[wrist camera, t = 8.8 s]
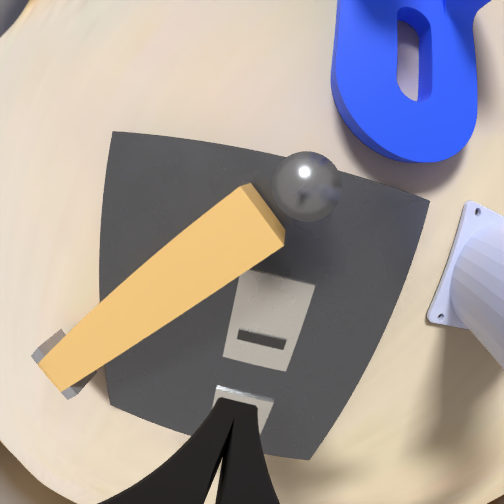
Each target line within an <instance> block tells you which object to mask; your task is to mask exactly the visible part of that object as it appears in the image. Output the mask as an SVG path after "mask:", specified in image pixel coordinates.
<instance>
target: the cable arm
mask: <svg viewBox="0 0 504 504" xmlns="http://www.w3.org/2000/svg"><path fill="white" fill-rule="evenodd" d="M284 240H285V229H284V227H283V226H282V224H281V223H280V222H279V220H278V219H277V218H276V216H275V215H274V213H273V212H272V211H271V209H270V208H269V207H268V205H267V204H266V203H265V201H264V200H263V199H262V197H261V196H260V195H259V193H258V192H257V190H256V189H255V188H254V186H253V185H252V184H251V183H249V184H246V185H242V186H240V187H238V188H237V189H236V190H234V191H233V192H232V193H230V194H229V195H228V196H227V197H225V198H224V199H223V200H221V201H220V202H219V203H217V204H216V205H215V206H214V207H212V208H211V209H210V210H209V211H207V212H206V213H205V214H203V215H202V216H201V217H200V218H198V219H197V220H196V221H195V222H193V223H192V224H191V225H190V226H188V227H187V228H186V229H185V230H184V231H182V232H181V233H180V234H179V235H177V236H176V237H175V238H174V239H173V240H171V241H170V242H169V243H168V244H167V245H165V246H164V247H163V248H162V249H161V250H159V251H158V252H157V253H156V254H155V255H153V256H152V257H151V258H150V259H149V260H148V261H146V262H145V263H144V264H143V265H142V266H141V267H140V268H138V269H137V270H136V271H135V272H134V273H133V274H131V275H130V276H129V277H128V278H127V279H126V280H125V281H124V282H122V283H121V284H120V285H119V286H118V287H117V288H116V289H115V290H114V291H112V292H111V293H110V294H109V295H108V296H107V297H106V298H105V299H104V300H103V301H101V302H100V303H99V304H98V305H97V306H96V307H95V308H94V309H93V310H92V311H91V312H90V313H89V314H87V315H86V316H85V317H84V318H83V319H82V320H81V321H80V322H79V323H78V324H77V325H76V326H75V327H74V328H73V329H72V330H71V331H70V332H69V333H68V334H67V335H65V333H64V332H63V331H62V329H60V330H59V331H58V332H57V333H55V334H54V335H53V336H52V337H50V338H49V339H48V340H47V341H45V342H44V343H43V344H42V345H41V346H39V347H38V348H37V349H36V350H35V352H34V353H33V354H32V355H31V357H32V358H33V359H34V361H35V362H36V363H37V364H38V366H39V367H40V368H41V370H42V371H43V372H44V373H45V374H46V376H47V377H48V378H49V379H50V380H51V382H52V383H53V384H54V385H55V386H56V387H57V389H58V390H59V391H60V392H61V393H62V394H63V395H64V396H65V397H66V399H67V400H68V399H70V398H72V397H74V396H76V395H77V394H78V393H79V392H80V391H81V390H82V389H83V387H84V386H85V385H86V384H87V383H88V382H89V381H90V379H91V378H92V377H93V376H94V375H95V374H96V373H97V372H96V371H95V370H96V369H98V368H100V367H101V366H103V365H104V364H106V363H107V362H109V361H111V360H112V359H114V358H115V357H117V356H118V355H120V354H121V353H123V352H124V351H126V350H128V349H129V348H131V347H132V346H134V345H135V344H137V343H138V342H140V341H141V340H143V339H144V338H146V337H148V336H149V335H151V334H152V333H154V332H155V331H157V330H158V329H160V328H161V327H163V326H164V325H166V324H167V323H169V322H170V321H172V320H174V319H175V318H177V317H178V316H180V315H181V314H183V313H184V312H186V311H187V310H189V309H190V308H192V307H193V306H195V305H196V304H198V303H199V302H201V301H202V300H204V299H205V298H207V297H208V296H210V295H211V294H213V293H214V292H216V291H217V290H219V289H220V288H222V287H223V286H225V285H226V284H228V283H229V282H231V281H232V280H234V279H235V278H237V277H238V276H240V275H241V274H243V273H244V272H246V271H247V270H249V269H250V268H252V267H253V266H255V265H256V264H258V263H259V262H261V261H262V260H264V259H265V258H267V257H268V256H270V255H271V254H272V253H274V252H275V251H277V250H278V249H280V248H281V247H283V246H284Z"/></svg>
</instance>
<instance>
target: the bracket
mask: <svg viewBox="0 0 504 504" xmlns="http://www.w3.org/2000/svg"><path fill="white" fill-rule="evenodd" d="M490 1H491V0H337V14H336V27H335V38H334V49H333V58H332V68H331V89H332V95H333V98H334V102H335V104H336V107H337V109H338V111H339V113H340V115H341V117H342V119H343V120H344V122H345V123H346V125H347V126H348V128H349V129H350V130H351V131H352V132H353V134H354V135H355V136H356V137H357V138H358V139H359V140H360V141H361V142H362V143H364V144H365V145H366V146H368V147H369V148H370V149H372V150H373V151H375V152H377V153H378V154H380V155H382V156H384V157H387V158H389V159H392V160H396V161H400V162H408V163H422V162H437V161H442V160H445V159H448V158H450V157H452V156H453V155H455V154H456V153H458V152H459V151H460V150H461V149H462V148H463V147H464V146H465V145H466V144H467V142H468V141H469V139H470V137H471V135H472V133H473V131H474V127H475V124H476V118H477V70H476V57H475V47H474V38H473V30H472V26H473V20H474V17H475V15H476V13H477V11H478V10H479V9H480V8H482V7H483V6H484V5H486V4H487V3H488V2H490ZM397 20H399V21H403V22H406V23H407V24H409V25H410V26H412V27H413V28H414V30H415V31H416V32H417V34H418V37H419V86H418V100H417V102H416V101H413V100H411V99H409V98H408V97H406V96H405V95H404V94H403V93H402V91H401V90H400V88H399V86H398V84H397V79H396V75H397Z"/></svg>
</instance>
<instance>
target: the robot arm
mask: <svg viewBox="0 0 504 504" xmlns="http://www.w3.org/2000/svg"><path fill="white" fill-rule="evenodd" d="M476 209H477V210H478V211H477V214H476V215H475V210H476ZM440 314H441V316H440V317H439V318H438V316H439V315H440ZM427 318H428V320H429V321H430V322H432V323H437V324H442V325H448V326H453V327H459V328H464V329H469V330H470V331H471V332H472V333H473V334H474V335H475V337H476V338H477V339H478V340H479V341H480V342H481V343H482V344H483V346H484V347H485V348H486V349H487V350H488V351H489V353H490V354H491V355H492V356H493V357H494V359H495V360H496V361H497V362H498V363H499V365H500V366H501V367H502V368H503V370H504V216H502V215H500V214H498V213H496V212H494V211H492V210H490V209H488V208H486V207H484V206H482V205H480V204H478V203H476V202H473V201H467V202H466V203H465V205H464V208H463V212H462V216H461V220H460V223H459V227H458V230H457V234H456V237H455V240H454V244H453V247H452V250H451V253H450V256H449V259H448V262H447V265H446V267H445V270H444V273H443V276H442V278H441V281H440V283H439V286H438V289H437V291H436V293H435V296H434V298H433V301H432V303H431V305H430V308H429V310H428V312H427ZM222 457H223V459H222ZM221 460H222V465H221V471H220V477H219V484H218V490H217V496H216V503H215V504H280V503H279V500H278V498H277V496H276V493H275V491H274V488H273V485H272V482H271V479H270V476H269V473H268V470H267V466H266V462H265V458H264V454H263V450H262V445H261V440H260V433H259V425H258V408H257V406H256V405H252V404H248V403H243V402H239V401H235V400H231V399H227V398H224V397H220V398H218V399H217V401H216V403H215V405H214V407H213V408H212V410H211V412H210V413H209V415H208V416H207V417H206V419H205V420H204V422H203V423H202V424H201V425H200V427H199V428H198V429H197V430H196V431H195V433H194V434H193V435H192V436H191V437H190V438H189V440H188V441H187V442H186V443H185V444H184V445H183V446H182V447H181V448H180V449H179V450H178V451H177V452H176V453H175V454H174V455H172V456H171V457H170V458H169V459H168V460H167V461H166V462H165V463H163V464H162V465H161V466H160V467H158V468H157V469H156V470H155V471H153V472H152V473H151V474H149V475H148V476H146V477H145V478H143V479H142V480H141V481H139V482H138V483H136V484H134V485H133V486H131V487H130V488H128V489H126V490H124V491H122V492H121V493H119V494H117V495H115V496H113V497H111V498H109V499H107V500H105V501H103V502H101V503H98V504H204V501H205V499H206V496H207V494H208V492H209V489H210V487H211V484H212V482H213V479H214V477H215V475H216V472H217V470H218V467H219V465H220V462H221Z"/></svg>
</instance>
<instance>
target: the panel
mask: <svg viewBox="0 0 504 504" xmlns="http://www.w3.org/2000/svg"><path fill="white" fill-rule="evenodd" d="M249 183H251V184H252V185H253V186H254V188H255V189H256V190H257V192H258V193H259V195H260V196H261V197H262V199H263V200H264V201H265V203H266V204H267V205H268V207H269V208H270V209H271V211H272V212H273V213H274V215H275V216H276V218H277V219H278V220H279V222H280V223H281V224H282V226H283V227H284V229H285V240H284V246H283V247H281V248H280V249H278V250H277V251H275V252H274V253H272V254H271V255H270V256H268V257H267V258H265V259H264V260H262V261H261V262H259V263H258V264H256V265H255V266H253V267H252V268H250V269H249V270H247V271H246V272H244V273H243V274H241V275H240V276H238V277H237V278H235V279H234V280H232V281H231V282H229V283H228V284H226V285H225V286H223V287H222V288H220V289H219V290H217V291H216V292H214V293H213V294H211V295H210V296H208V297H207V298H205V299H204V300H202V301H201V302H199V303H198V304H196V305H195V306H193V307H192V308H190V309H189V310H187V311H186V312H184V313H183V314H181V315H180V316H178V317H177V318H175V319H174V320H172V321H170V322H169V323H167V324H166V325H164V326H163V327H161V328H160V329H158V330H157V331H155V332H154V333H152V334H151V335H149V336H148V337H146V338H144V339H143V340H141V341H140V342H138V343H137V344H135V345H134V346H132V347H131V348H129V349H128V350H126V351H124V352H123V353H121V354H120V355H118V356H117V357H115V358H114V359H112V360H111V361H109V362H107V363H106V364H105V372H106V380H107V387H108V393H109V399H110V405H112V406H114V407H116V408H119V409H121V410H123V411H125V412H128V413H130V414H132V415H135V416H137V417H140V418H142V419H145V420H147V421H150V422H152V423H155V424H158V425H160V426H163V427H166V428H169V429H172V430H175V431H178V432H181V433H184V434H187V435H190V436H192V435H193V434H194V433H195V431H196V430H197V429H198V428H199V427H200V425H201V424H202V423H203V422H204V420H205V419H206V417H207V416H208V415H209V413H210V412H211V410H212V408H213V407H214V405H215V403H216V401H217V399H218V398H220V397H224V398H227V399H231V400H235V401H239V402H243V403H248V404H252V405H256V406H257V408H258V425H259V433H260V440H261V445H262V450H263V454H269V455H275V456H281V457H288V458H295V459H303V460H310V458H311V457H312V456H313V454H314V453H315V451H316V450H317V448H318V447H319V446H320V444H321V443H322V441H323V440H324V438H325V437H326V435H327V434H328V432H329V431H330V429H331V428H332V426H333V425H334V423H335V421H336V420H337V418H338V417H339V415H340V413H341V412H342V410H343V408H344V407H345V405H346V403H347V402H348V400H349V398H350V397H351V395H352V393H353V391H354V390H355V388H356V386H357V384H358V382H359V381H360V379H361V377H362V375H363V373H364V371H365V369H366V367H367V366H368V364H369V362H370V360H371V358H372V356H373V354H374V352H375V350H376V348H377V345H378V343H379V341H380V339H381V337H382V335H383V333H384V330H385V328H386V326H387V324H388V322H389V319H390V317H391V315H392V312H393V310H394V308H395V305H396V303H397V300H398V298H399V295H400V293H401V290H402V288H403V285H404V282H405V280H406V277H407V274H408V271H409V269H410V266H411V263H412V260H413V257H414V254H415V251H416V248H417V245H418V242H419V238H420V235H421V232H422V229H423V225H424V222H425V218H426V214H427V211H428V207H429V203H430V201H429V200H427V199H424V198H421V197H419V196H416V195H413V194H410V193H407V192H405V191H402V190H399V189H396V188H393V187H390V186H387V185H384V184H381V183H378V182H375V181H372V180H368V179H365V178H362V177H359V176H355V175H352V174H348V173H345V172H341V171H338V170H337V168H336V167H335V165H334V164H333V163H332V162H331V161H330V160H329V159H327V158H326V157H324V156H323V155H320V154H318V153H315V152H307V151H305V152H298V153H295V154H292V155H290V156H288V157H283V156H278V155H274V154H269V153H264V152H259V151H254V150H249V149H244V148H239V147H234V146H228V145H222V144H216V143H210V142H204V141H197V140H190V139H183V138H176V137H168V136H159V135H150V134H140V133H129V132H115V131H113V133H112V138H111V144H110V150H109V156H108V162H107V169H106V177H105V185H104V194H103V204H102V217H101V232H100V257H99V293H100V302H101V301H103V300H104V299H105V298H106V297H107V296H108V295H109V294H110V293H111V292H112V291H114V290H115V289H116V288H117V287H118V286H119V285H120V284H121V283H122V282H124V281H125V280H126V279H127V278H128V277H129V276H130V275H131V274H133V273H134V272H135V271H136V270H137V269H138V268H140V267H141V266H142V265H143V264H144V263H145V262H146V261H148V260H149V259H150V258H151V257H152V256H153V255H155V254H156V253H157V252H158V251H159V250H161V249H162V248H163V247H164V246H165V245H167V244H168V243H169V242H170V241H171V240H173V239H174V238H175V237H176V236H177V235H179V234H180V233H181V232H182V231H184V230H185V229H186V228H187V227H188V226H190V225H191V224H192V223H193V222H195V221H196V220H197V219H198V218H200V217H201V216H202V215H203V214H205V213H206V212H207V211H209V210H210V209H211V208H212V207H214V206H215V205H216V204H217V203H219V202H220V201H221V200H223V199H224V198H225V197H227V196H228V195H229V194H230V193H232V192H233V191H234V190H236V189H237V188H238V187H240V186H242V185H246V184H249Z"/></svg>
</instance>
